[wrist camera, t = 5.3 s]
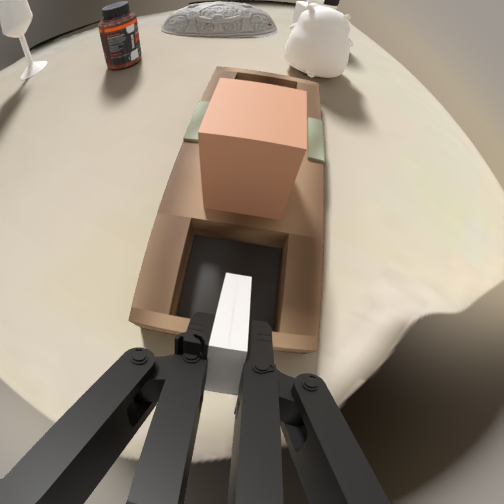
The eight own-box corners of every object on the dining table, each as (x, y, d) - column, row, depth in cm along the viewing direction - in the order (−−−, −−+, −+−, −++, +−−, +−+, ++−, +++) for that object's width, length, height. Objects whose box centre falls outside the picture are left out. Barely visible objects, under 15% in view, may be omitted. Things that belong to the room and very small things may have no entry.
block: (203, 207, 22) (197, 132, 15) (218, 152, 24) (220, 77, 17) (280, 220, 22) (306, 149, 15) (285, 162, 24) (306, 91, 17)
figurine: (340, 96, 35) (366, 28, 24) (274, 77, 35) (288, 5, 24) (342, 68, 39) (362, 11, 28) (286, 52, 39) (298, -7, 28)
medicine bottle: (318, 29, 46) (330, -15, 35) (337, 43, 44) (352, -4, 33) (290, 28, 45) (300, -19, 34) (308, 41, 42) (321, -10, 31)
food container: (285, 41, 41) (289, 10, 35) (149, 46, 40) (145, 15, 34) (276, 22, 48) (279, -2, 43) (166, 25, 47) (164, 1, 41)
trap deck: (140, 327, 21) (127, 319, 18) (216, 84, 33) (217, 64, 30) (307, 353, 21) (321, 350, 18) (314, 100, 34) (320, 81, 31)
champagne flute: (50, 64, 36) (25, -28, 14) (23, 82, 34) (-9, -9, 12) (43, 58, 37) (20, -25, 15) (18, 75, 35) (-10, -8, 13)
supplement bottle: (147, 61, 35) (140, 1, 25) (112, 75, 33) (99, 14, 23) (135, 50, 37) (128, -3, 26) (103, 63, 35) (92, 9, 25)
